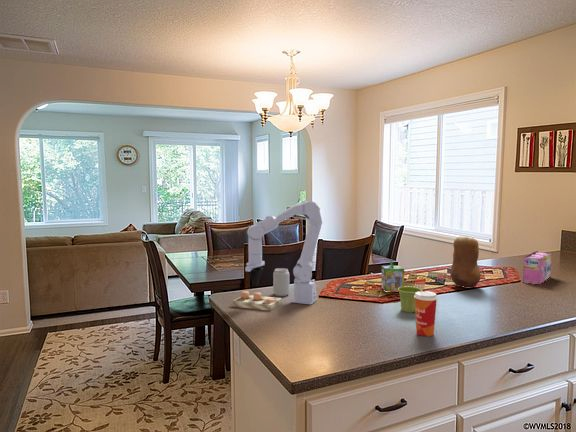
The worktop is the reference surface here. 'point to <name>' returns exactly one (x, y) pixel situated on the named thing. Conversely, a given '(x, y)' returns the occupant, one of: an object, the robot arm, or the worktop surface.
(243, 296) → the button far
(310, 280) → the robot arm
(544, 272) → the gum box
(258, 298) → the button mid
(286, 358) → the worktop surface
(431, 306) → the paper cup
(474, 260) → the butternut squash
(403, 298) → the plant pot
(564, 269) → the worktop surface
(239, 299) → the button board
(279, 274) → the can
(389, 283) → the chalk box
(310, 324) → the worktop surface
